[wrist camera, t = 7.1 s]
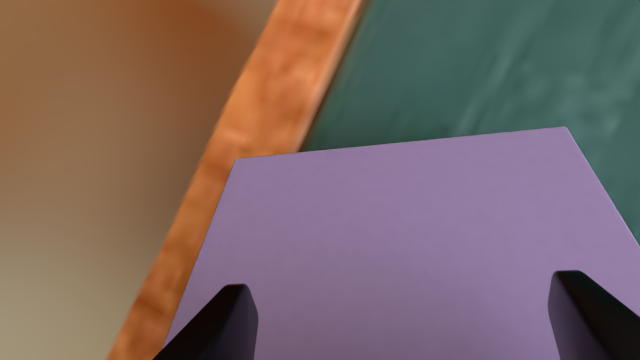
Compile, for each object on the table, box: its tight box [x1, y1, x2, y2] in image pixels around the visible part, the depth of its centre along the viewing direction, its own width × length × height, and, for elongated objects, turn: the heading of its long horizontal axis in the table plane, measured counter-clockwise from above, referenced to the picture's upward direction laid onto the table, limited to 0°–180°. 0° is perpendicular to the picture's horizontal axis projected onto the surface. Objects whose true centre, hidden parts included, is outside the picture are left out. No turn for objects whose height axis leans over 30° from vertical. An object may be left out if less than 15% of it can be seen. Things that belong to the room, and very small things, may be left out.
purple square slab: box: [162, 127, 640, 360], centre depth 10 cm, size 15×12×5 cm
